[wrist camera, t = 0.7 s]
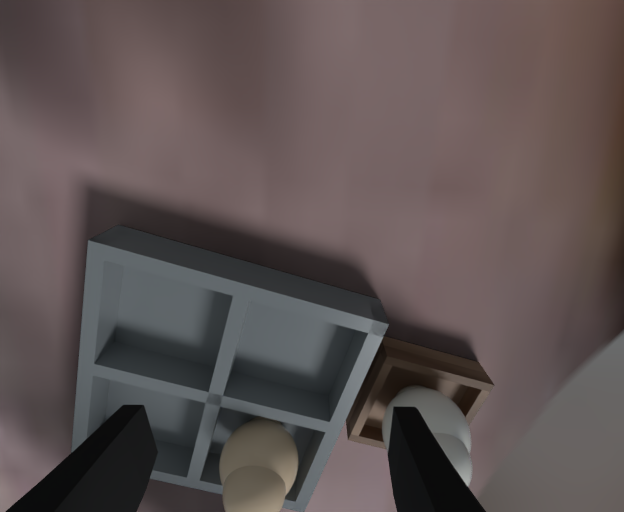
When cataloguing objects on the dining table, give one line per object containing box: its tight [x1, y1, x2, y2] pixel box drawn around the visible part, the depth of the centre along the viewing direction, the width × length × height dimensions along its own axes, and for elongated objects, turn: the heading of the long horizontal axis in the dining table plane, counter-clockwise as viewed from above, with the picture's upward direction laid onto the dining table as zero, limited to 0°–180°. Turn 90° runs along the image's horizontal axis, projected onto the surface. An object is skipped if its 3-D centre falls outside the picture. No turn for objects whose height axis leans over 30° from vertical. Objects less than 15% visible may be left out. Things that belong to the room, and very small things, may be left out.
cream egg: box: [382, 385, 472, 486], centre depth 18 cm, size 5×5×6 cm
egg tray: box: [71, 225, 389, 512], centre depth 20 cm, size 15×15×3 cm
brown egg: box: [219, 416, 298, 512], centre depth 20 cm, size 5×5×6 cm
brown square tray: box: [346, 336, 494, 449], centre depth 21 cm, size 6×6×2 cm
